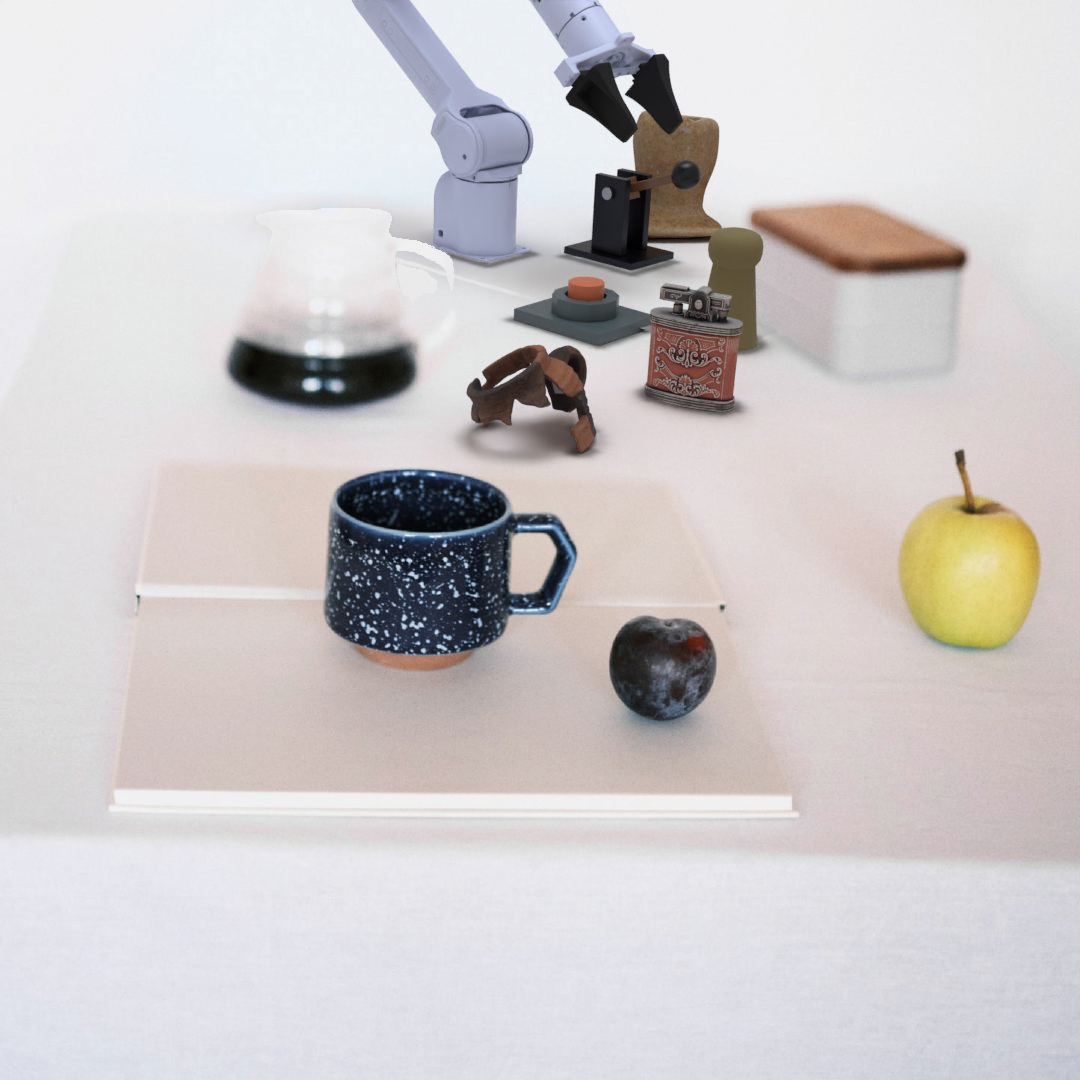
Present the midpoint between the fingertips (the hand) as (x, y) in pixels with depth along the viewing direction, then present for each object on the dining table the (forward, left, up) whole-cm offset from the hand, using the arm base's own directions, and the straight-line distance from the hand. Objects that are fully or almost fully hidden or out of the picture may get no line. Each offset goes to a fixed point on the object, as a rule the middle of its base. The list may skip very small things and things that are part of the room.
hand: (653, 131), depth 139 cm
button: (+2, -12, -15) cm, 19 cm away
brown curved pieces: (+18, -37, -17) cm, 45 cm away
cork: (+15, -6, -17) cm, 24 cm away
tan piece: (-15, +23, -17) cm, 32 cm away
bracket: (-11, +10, -17) cm, 23 cm away
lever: (-6, +10, -9) cm, 15 cm away
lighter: (+22, -22, -17) cm, 36 cm away
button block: (+2, -12, -17) cm, 21 cm away
